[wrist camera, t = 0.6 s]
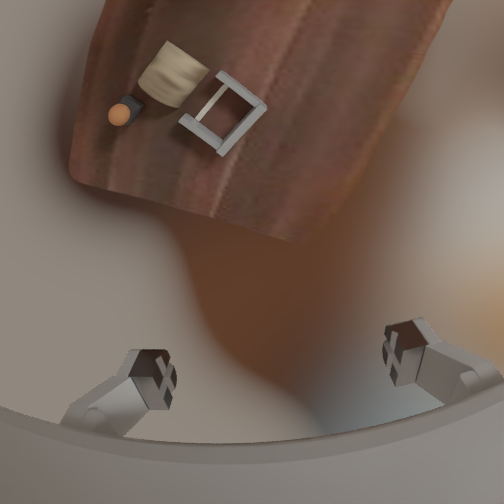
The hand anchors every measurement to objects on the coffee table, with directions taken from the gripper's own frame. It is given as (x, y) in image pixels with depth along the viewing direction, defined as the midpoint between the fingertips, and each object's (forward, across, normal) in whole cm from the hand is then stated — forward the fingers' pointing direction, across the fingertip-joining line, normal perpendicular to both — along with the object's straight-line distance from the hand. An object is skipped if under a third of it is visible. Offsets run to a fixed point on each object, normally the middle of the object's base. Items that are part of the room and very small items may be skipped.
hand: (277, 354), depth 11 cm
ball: (+42, +23, -16) cm, 50 cm away
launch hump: (+51, +13, -23) cm, 57 cm away
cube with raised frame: (+47, +22, -17) cm, 55 cm away
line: (+47, +7, -15) cm, 50 cm away
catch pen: (+47, +5, -12) cm, 49 cm away
